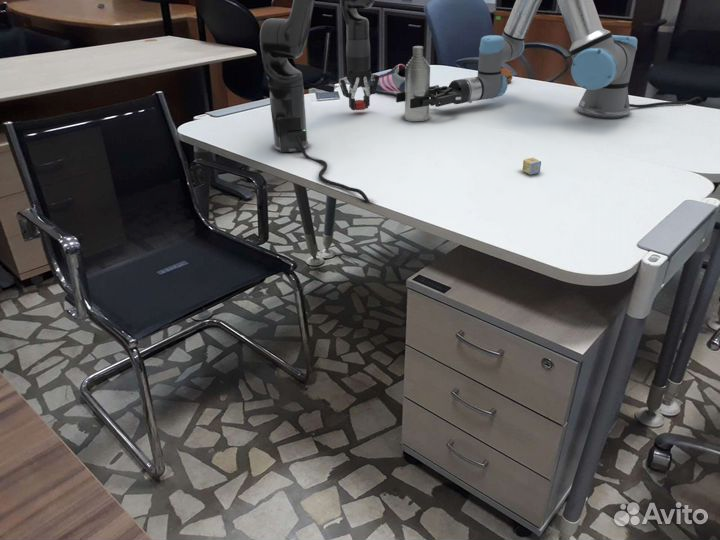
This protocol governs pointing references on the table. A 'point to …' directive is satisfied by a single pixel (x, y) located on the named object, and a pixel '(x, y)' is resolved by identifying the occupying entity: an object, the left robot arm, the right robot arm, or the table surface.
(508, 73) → the burger
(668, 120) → the table surface
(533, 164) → the alphabet block
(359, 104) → the cap
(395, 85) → the running shoe
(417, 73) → the bottle
